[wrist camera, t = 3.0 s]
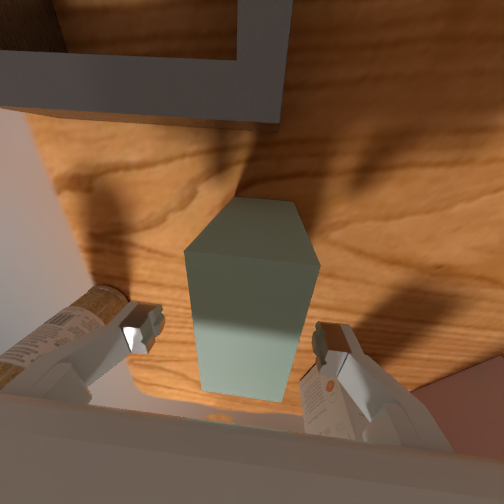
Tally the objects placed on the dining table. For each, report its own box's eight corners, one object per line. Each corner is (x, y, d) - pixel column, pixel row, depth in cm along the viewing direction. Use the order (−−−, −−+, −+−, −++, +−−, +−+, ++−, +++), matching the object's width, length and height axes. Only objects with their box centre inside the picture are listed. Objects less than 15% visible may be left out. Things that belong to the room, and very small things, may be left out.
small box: (340, 394, 25) (397, 595, 14) (297, 381, 25) (319, 577, 13) (379, 363, 21) (503, 606, 10) (329, 346, 21) (398, 581, 9)
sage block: (293, 201, 14) (320, 265, 6) (277, 293, 18) (281, 402, 10) (234, 196, 14) (184, 250, 6) (232, 288, 18) (201, 390, 10)
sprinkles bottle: (97, 309, 22) (-109, 493, 10) (86, 279, 20) (-195, 467, 8) (134, 316, 22) (-30, 509, 10) (127, 286, 20) (-94, 488, 8)
